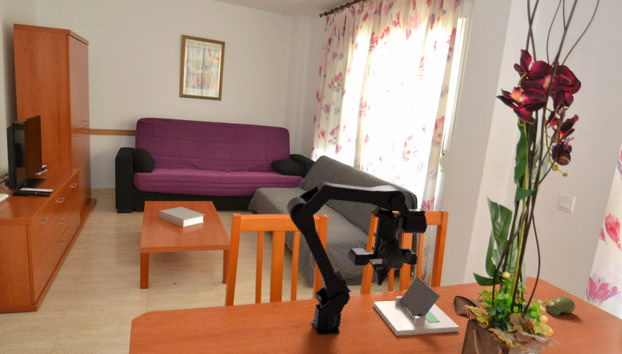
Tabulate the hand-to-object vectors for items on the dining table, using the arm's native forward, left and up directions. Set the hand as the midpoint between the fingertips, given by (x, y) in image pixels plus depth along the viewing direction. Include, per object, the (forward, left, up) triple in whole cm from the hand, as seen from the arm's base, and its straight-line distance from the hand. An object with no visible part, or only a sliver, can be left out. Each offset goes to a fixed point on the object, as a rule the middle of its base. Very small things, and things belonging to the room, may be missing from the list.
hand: (379, 284), depth 116 cm
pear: (+69, +2, -13) cm, 71 cm away
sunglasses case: (+40, +3, -14) cm, 42 cm away
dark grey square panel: (+13, +3, -10) cm, 17 cm away
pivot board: (+15, +3, -13) cm, 20 cm away
